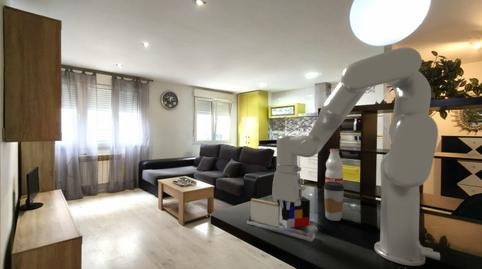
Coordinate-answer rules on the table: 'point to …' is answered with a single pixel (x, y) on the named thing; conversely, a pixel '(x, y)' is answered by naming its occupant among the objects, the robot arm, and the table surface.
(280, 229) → the rail
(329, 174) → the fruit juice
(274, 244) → the table surface
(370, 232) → the table surface
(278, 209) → the screen
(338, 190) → the coffee cup
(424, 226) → the table surface
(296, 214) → the puzzle toy
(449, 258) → the table surface
